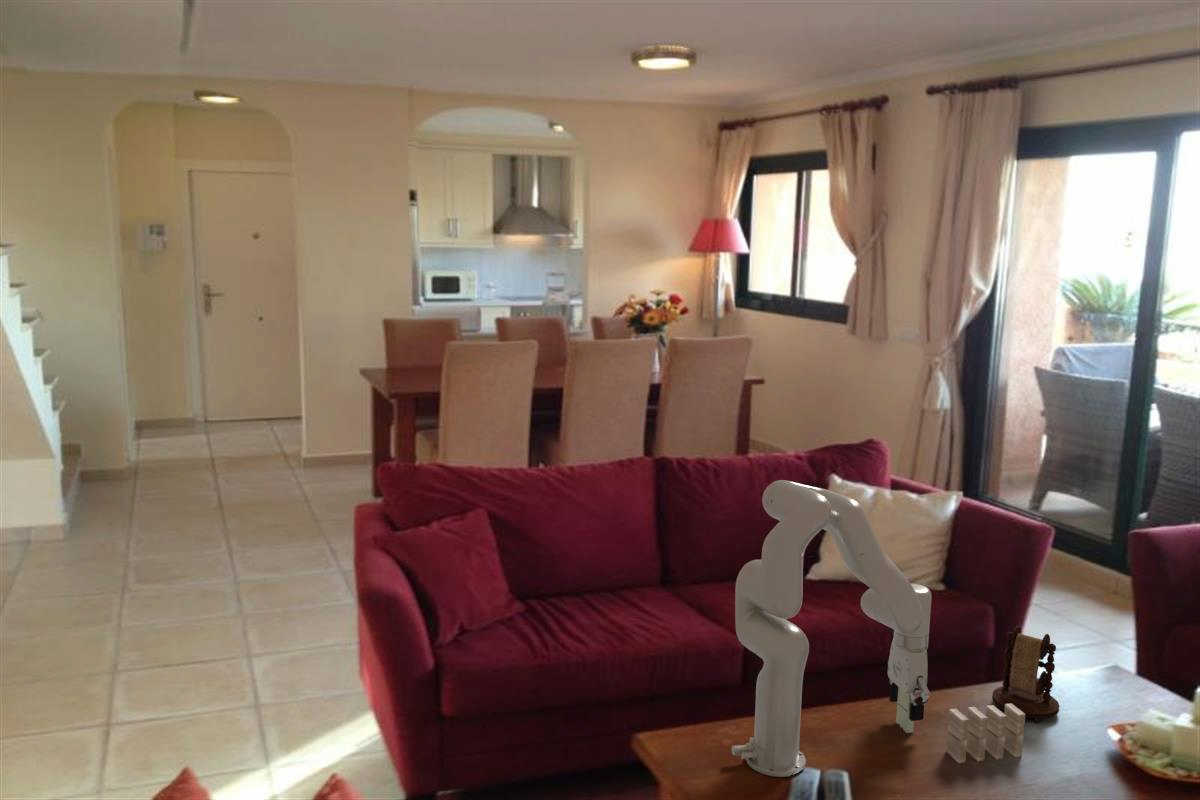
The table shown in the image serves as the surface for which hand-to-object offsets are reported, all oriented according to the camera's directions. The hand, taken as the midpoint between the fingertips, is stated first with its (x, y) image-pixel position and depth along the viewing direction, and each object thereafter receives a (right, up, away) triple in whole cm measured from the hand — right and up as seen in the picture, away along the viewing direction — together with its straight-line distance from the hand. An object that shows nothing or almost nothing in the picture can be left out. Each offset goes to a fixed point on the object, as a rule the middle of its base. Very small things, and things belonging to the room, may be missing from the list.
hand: (905, 710), depth 227 cm
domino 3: (+12, -6, -11) cm, 17 cm away
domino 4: (+16, -6, -10) cm, 20 cm away
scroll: (+32, -3, +10) cm, 33 cm away
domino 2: (+7, -6, -12) cm, 15 cm away
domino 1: (0, -4, +1) cm, 4 cm away
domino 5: (+20, -6, -9) cm, 23 cm away
